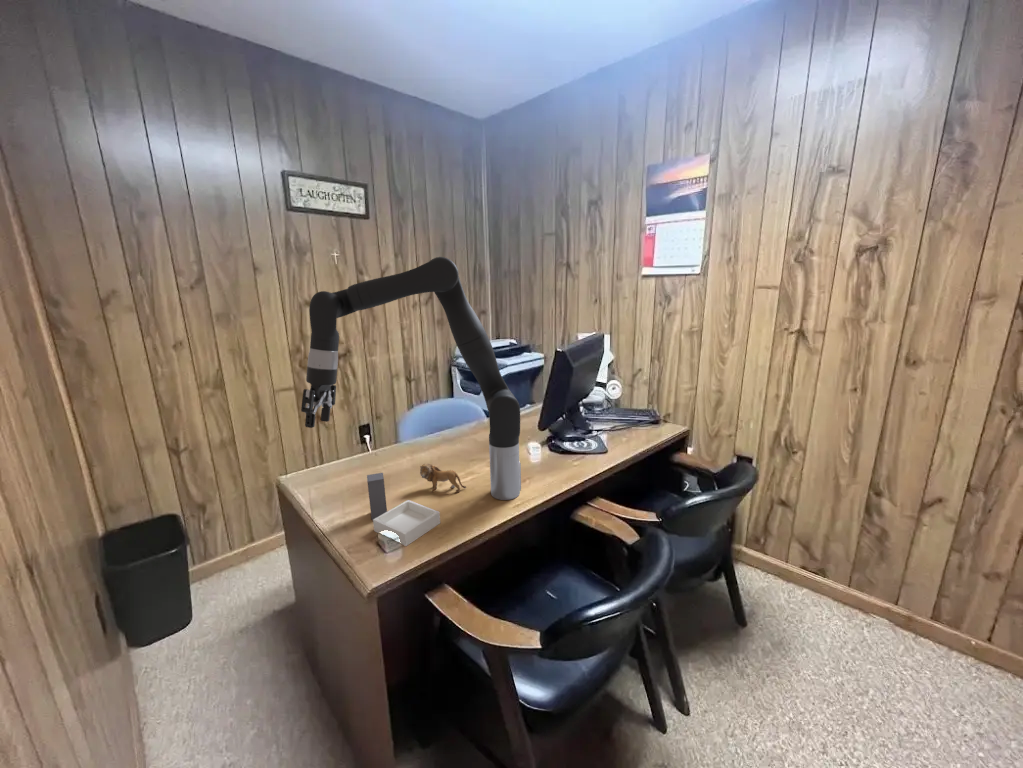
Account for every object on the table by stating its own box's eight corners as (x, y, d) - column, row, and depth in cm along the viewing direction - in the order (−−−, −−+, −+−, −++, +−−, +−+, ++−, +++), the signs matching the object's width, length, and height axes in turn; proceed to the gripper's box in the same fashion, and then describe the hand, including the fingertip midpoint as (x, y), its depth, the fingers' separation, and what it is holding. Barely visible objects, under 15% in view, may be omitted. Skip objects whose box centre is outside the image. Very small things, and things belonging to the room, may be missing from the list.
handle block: (386, 509, 125) (382, 472, 122) (387, 517, 121) (383, 478, 118) (371, 512, 124) (366, 475, 121) (371, 520, 120) (367, 481, 117)
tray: (409, 510, 125) (408, 499, 124) (440, 523, 118) (439, 511, 117) (374, 531, 114) (372, 519, 114) (406, 546, 107) (404, 534, 107)
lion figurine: (419, 493, 134) (417, 467, 132) (423, 485, 140) (421, 460, 138) (465, 492, 134) (464, 466, 132) (467, 485, 140) (466, 460, 137)
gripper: (323, 369, 107) (318, 431, 109) (347, 366, 121) (342, 421, 123) (294, 365, 107) (289, 427, 109) (321, 362, 121) (317, 417, 123)
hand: (317, 424), depth 116 cm, fingers open, 8 cm apart
